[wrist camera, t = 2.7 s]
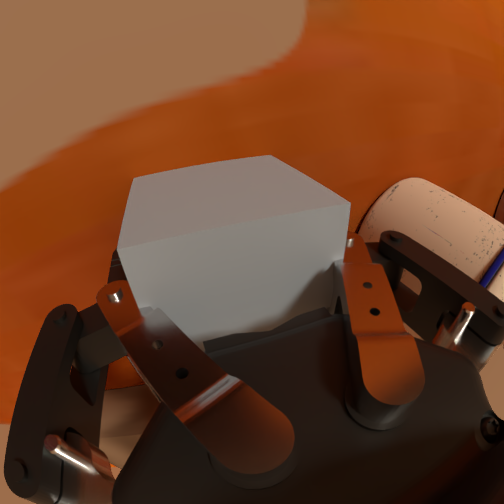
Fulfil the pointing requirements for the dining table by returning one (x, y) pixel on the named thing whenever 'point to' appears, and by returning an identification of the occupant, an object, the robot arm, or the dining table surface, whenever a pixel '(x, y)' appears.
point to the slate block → (232, 245)
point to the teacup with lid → (441, 232)
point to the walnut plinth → (125, 421)
